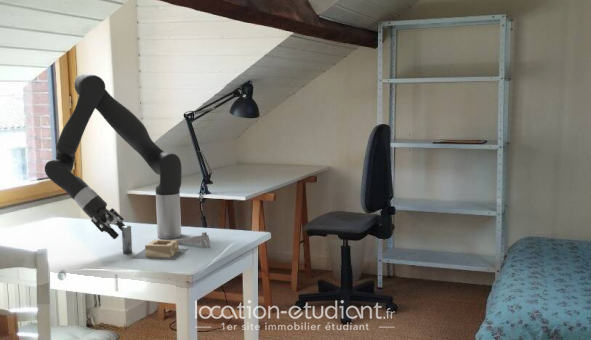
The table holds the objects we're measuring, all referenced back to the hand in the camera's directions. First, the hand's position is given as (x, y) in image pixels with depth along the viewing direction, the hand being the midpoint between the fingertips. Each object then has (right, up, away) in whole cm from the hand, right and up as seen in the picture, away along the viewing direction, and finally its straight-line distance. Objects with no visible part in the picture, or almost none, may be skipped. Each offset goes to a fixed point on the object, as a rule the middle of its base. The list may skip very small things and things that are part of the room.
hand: (122, 234), depth 230 cm
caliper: (+21, -6, +11) cm, 24 cm away
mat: (+14, -7, -1) cm, 15 cm away
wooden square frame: (+15, -7, -2) cm, 16 cm away
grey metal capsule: (+2, -7, +1) cm, 7 cm away
